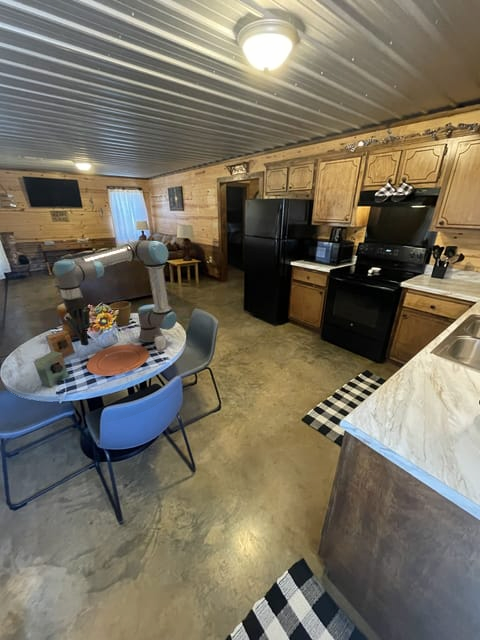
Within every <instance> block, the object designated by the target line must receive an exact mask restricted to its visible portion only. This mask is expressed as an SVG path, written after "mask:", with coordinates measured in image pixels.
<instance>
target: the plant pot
mask: <svg viewBox="0 0 480 640" xmlns="http://www.w3.org/2000/svg"><path fill="white" fill-rule="evenodd" d="M109 307H110V308H111V309H112V310H119V315H118V317H117V320H116V321H115V322H116V324H117V325H118V327H126V326H128V325H130V321H131V313H132V304H131V302H129V301H117V302H114V303H110V304H109V305H108V308H109Z"/></svg>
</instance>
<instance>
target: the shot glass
mask: <svg viewBox="0 0 480 640" xmlns="http://www.w3.org/2000/svg"><path fill="white" fill-rule="evenodd" d="M154 340H155V342H154V344H155V348H156V350H158V351H162V350H165V349H166V343H167V341H166V336H165V335H163V336H157V337H155V338H154Z"/></svg>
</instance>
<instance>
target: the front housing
mask: <svg viewBox="0 0 480 640" xmlns="http://www.w3.org/2000/svg"><path fill="white" fill-rule="evenodd" d="M33 364H34V367H35V369H36V372H37V375H38V378H39V381H40V384H41V385H42V386H44V387H49V388H53V387H54V386H56V385H57V384H59V383H60V382H62V381H63V380H65V379H67V378H68V377H69V371H68V368H67V366H66V363H65V359H64V357H63V356H62V353H59V352H54V351H52V352H51V351H50V352H49V353H47V354H45V355H42V356H41V357H39V358H36V359H35V360H33ZM54 364H58V365H62V366H63V370H62V372H60V373H56V372H52V370H51V367H52V366H53V365H54Z"/></svg>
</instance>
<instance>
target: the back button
mask: <svg viewBox="0 0 480 640" xmlns="http://www.w3.org/2000/svg"><path fill="white" fill-rule="evenodd" d="M58 346H59V347H61V348H63V349H65V348H67V347H68V343H67V342H65V341H60V342H59V344H58Z"/></svg>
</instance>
